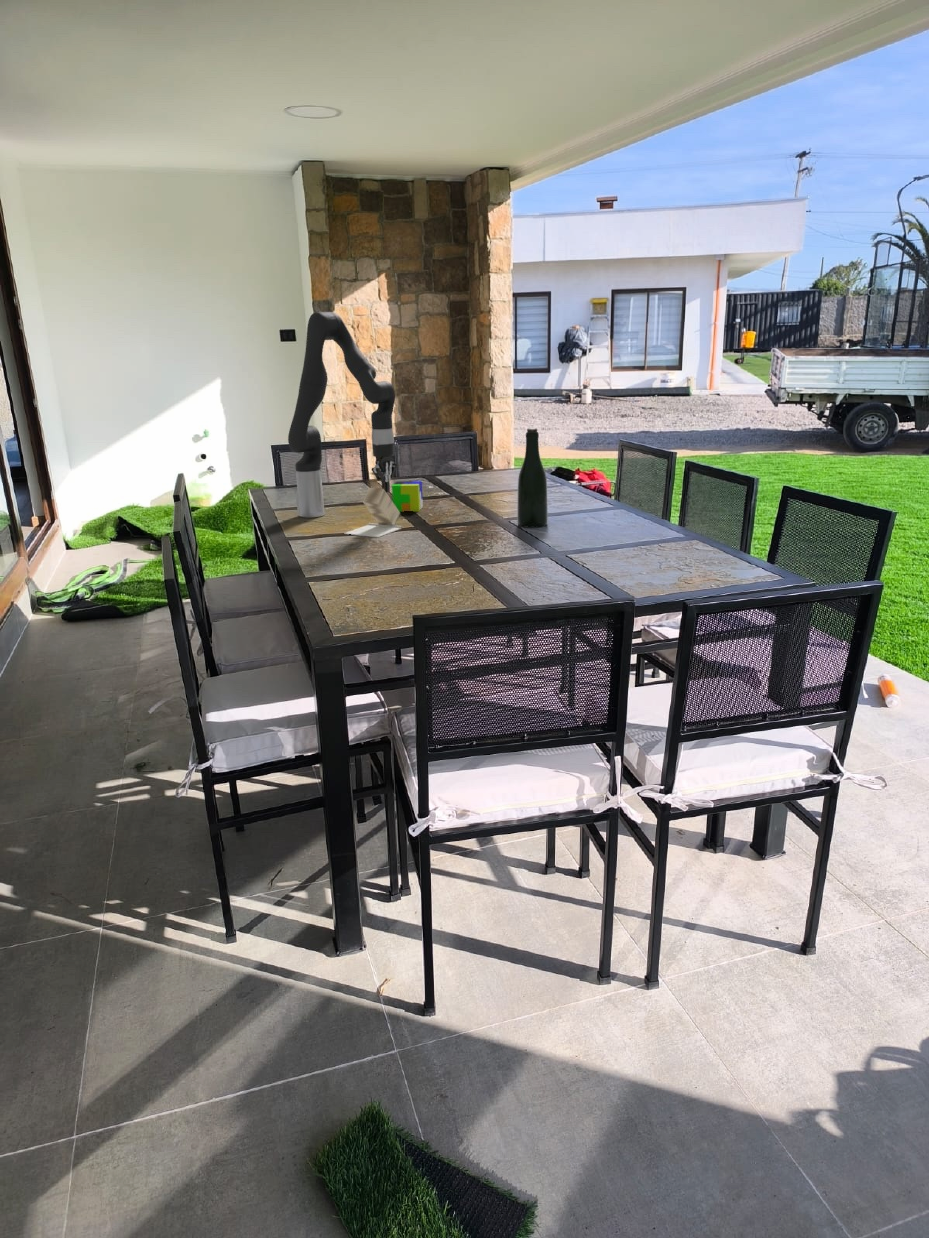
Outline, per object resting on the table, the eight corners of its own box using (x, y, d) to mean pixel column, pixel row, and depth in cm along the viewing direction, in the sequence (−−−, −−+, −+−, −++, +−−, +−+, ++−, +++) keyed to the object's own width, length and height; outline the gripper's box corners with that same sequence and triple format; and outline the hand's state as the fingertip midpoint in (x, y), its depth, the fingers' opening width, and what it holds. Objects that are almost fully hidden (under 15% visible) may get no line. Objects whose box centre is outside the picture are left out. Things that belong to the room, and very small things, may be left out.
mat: (344, 534, 286) (344, 531, 286) (369, 525, 299) (369, 523, 299) (378, 537, 280) (378, 535, 280) (402, 528, 292) (402, 526, 292)
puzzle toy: (422, 506, 330) (421, 481, 326) (419, 511, 320) (417, 485, 317) (397, 506, 331) (396, 481, 327) (393, 511, 321) (391, 485, 318)
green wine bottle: (513, 527, 289) (512, 429, 278) (522, 521, 298) (522, 426, 287) (542, 529, 285) (542, 430, 274) (551, 522, 294) (551, 426, 283)
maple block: (380, 525, 298) (362, 501, 286) (386, 512, 300) (369, 487, 289) (394, 527, 295) (377, 502, 284) (400, 513, 297) (383, 488, 286)
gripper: (384, 439, 294) (387, 488, 300) (362, 444, 284) (366, 495, 289) (402, 440, 291) (405, 489, 297) (381, 444, 280) (384, 496, 286)
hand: (386, 492), depth 293 cm, fingers closed
